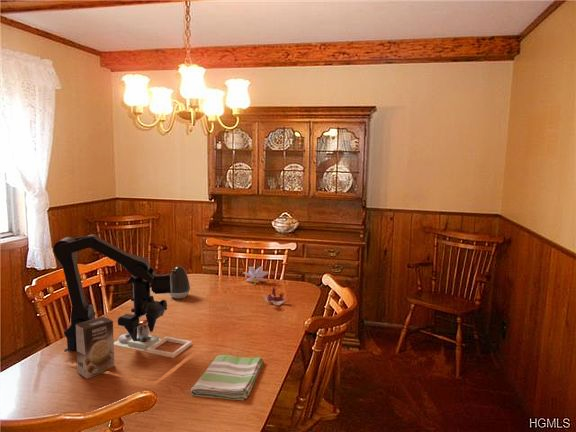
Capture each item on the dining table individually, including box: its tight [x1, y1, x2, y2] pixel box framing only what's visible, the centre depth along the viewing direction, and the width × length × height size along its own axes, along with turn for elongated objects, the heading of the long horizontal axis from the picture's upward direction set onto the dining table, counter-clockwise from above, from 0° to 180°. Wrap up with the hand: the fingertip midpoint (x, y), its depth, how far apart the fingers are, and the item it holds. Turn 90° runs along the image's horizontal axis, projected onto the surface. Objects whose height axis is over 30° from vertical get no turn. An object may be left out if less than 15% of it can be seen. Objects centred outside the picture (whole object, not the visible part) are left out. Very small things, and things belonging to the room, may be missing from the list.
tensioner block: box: [114, 333, 162, 352], centre depth 154 cm, size 10×14×3 cm
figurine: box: [261, 285, 288, 306], centre depth 197 cm, size 15×12×7 cm
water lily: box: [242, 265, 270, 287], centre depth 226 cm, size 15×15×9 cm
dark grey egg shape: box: [169, 265, 191, 300], centre depth 204 cm, size 10×10×15 cm
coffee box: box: [76, 316, 115, 380], centre depth 134 cm, size 9×6×16 cm
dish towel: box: [190, 354, 264, 402], centre depth 132 cm, size 17×23×4 cm
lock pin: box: [137, 319, 150, 342], centre depth 152 cm, size 4×4×8 cm
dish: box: [145, 336, 193, 359], centre depth 149 cm, size 11×11×2 cm
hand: (143, 336), depth 153 cm, fingers open, 8 cm apart
